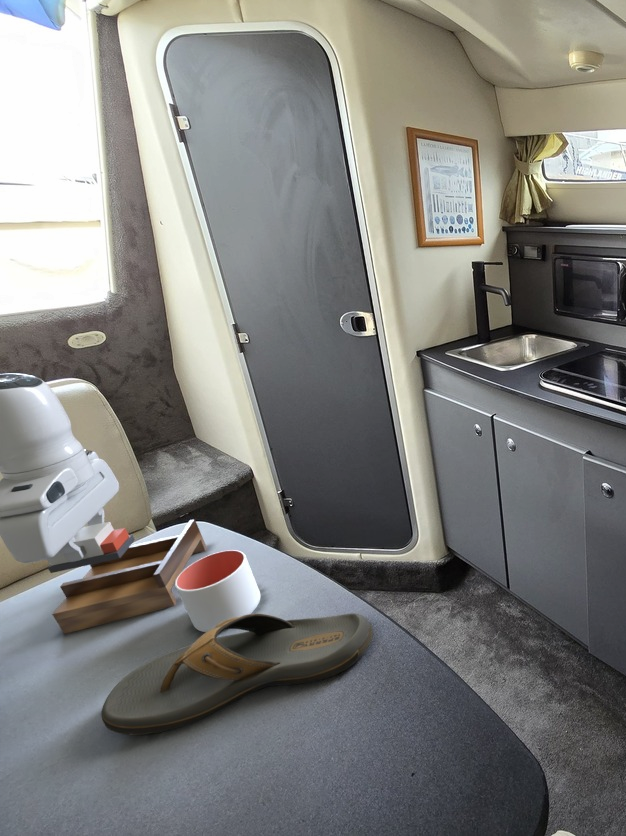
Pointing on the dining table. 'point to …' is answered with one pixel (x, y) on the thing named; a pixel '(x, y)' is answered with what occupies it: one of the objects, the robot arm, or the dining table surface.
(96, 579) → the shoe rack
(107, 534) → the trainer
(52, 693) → the dining table surface
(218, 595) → the cup
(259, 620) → the sandal
